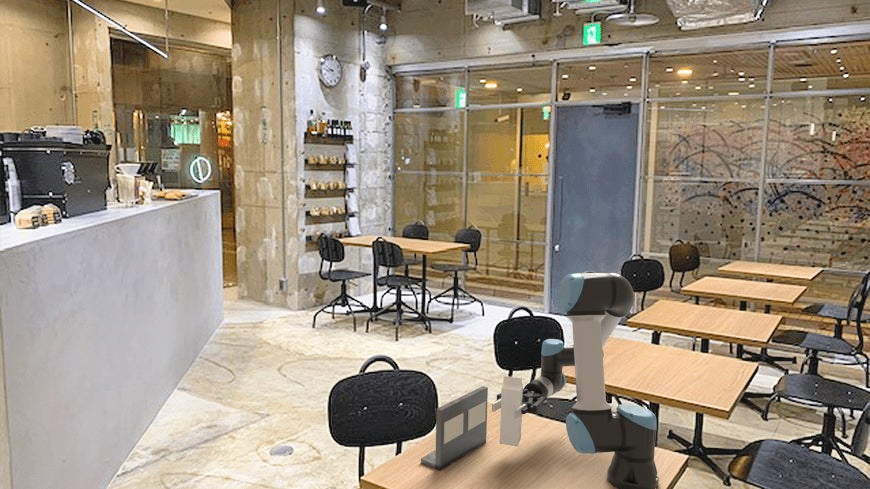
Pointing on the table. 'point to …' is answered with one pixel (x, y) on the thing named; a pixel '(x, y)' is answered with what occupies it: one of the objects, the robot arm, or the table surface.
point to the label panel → (459, 428)
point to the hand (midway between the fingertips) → (503, 411)
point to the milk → (510, 411)
